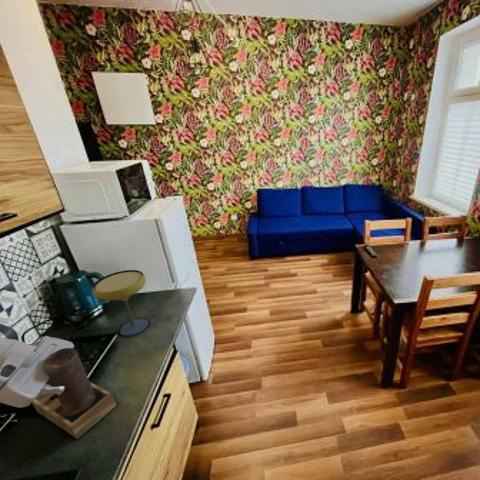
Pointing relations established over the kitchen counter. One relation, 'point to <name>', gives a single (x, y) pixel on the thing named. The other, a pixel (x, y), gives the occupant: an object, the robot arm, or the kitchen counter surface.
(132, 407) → the kitchen counter surface
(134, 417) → the kitchen counter surface
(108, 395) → the tray
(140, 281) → the cocktail glass
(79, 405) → the candle
